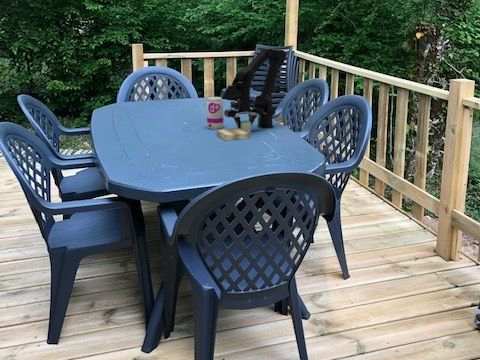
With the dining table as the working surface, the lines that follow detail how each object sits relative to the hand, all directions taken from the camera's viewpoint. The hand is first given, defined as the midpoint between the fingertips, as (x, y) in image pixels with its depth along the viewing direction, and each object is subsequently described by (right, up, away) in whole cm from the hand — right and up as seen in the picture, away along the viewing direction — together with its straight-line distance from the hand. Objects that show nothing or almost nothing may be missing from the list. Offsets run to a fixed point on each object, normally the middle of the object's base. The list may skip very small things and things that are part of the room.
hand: (244, 129), depth 278 cm
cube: (0, -1, 0) cm, 1 cm away
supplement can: (-15, +2, +9) cm, 17 cm away
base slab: (-5, -5, -10) cm, 12 cm away
